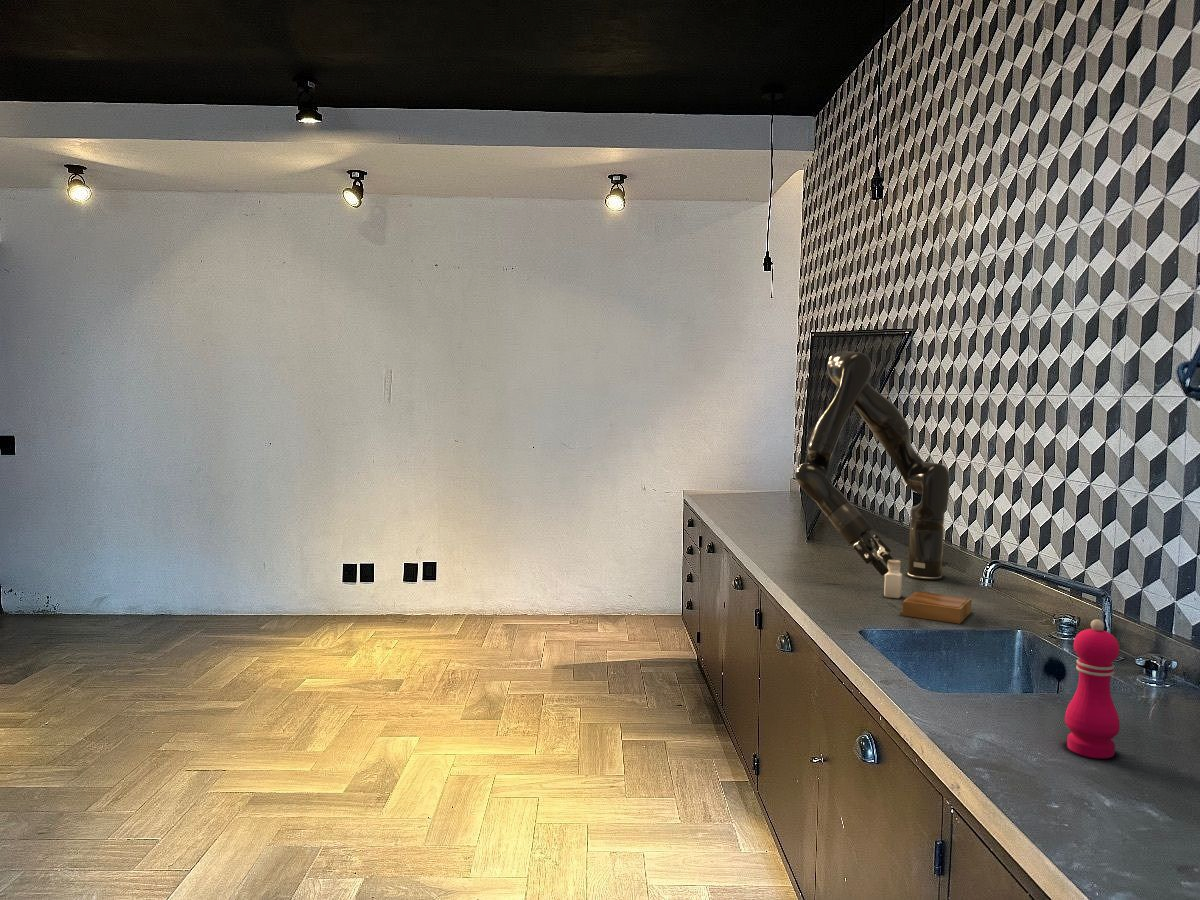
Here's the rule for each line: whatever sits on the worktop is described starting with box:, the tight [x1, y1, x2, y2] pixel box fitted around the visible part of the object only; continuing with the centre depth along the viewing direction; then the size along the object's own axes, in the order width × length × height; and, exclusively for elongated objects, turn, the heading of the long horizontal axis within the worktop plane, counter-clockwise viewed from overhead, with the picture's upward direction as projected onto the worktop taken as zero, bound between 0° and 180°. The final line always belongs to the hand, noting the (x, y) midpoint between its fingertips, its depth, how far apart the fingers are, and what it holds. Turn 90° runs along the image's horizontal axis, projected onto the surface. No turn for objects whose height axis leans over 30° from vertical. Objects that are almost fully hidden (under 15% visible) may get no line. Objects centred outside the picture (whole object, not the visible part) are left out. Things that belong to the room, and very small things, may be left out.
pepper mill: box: [1064, 618, 1121, 760], centre depth 135 cm, size 7×7×20 cm
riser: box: [902, 591, 972, 625], centre depth 219 cm, size 13×13×4 cm
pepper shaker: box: [883, 559, 903, 599], centre depth 236 cm, size 4×4×10 cm
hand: (891, 571), depth 236 cm, fingers open, 8 cm apart
